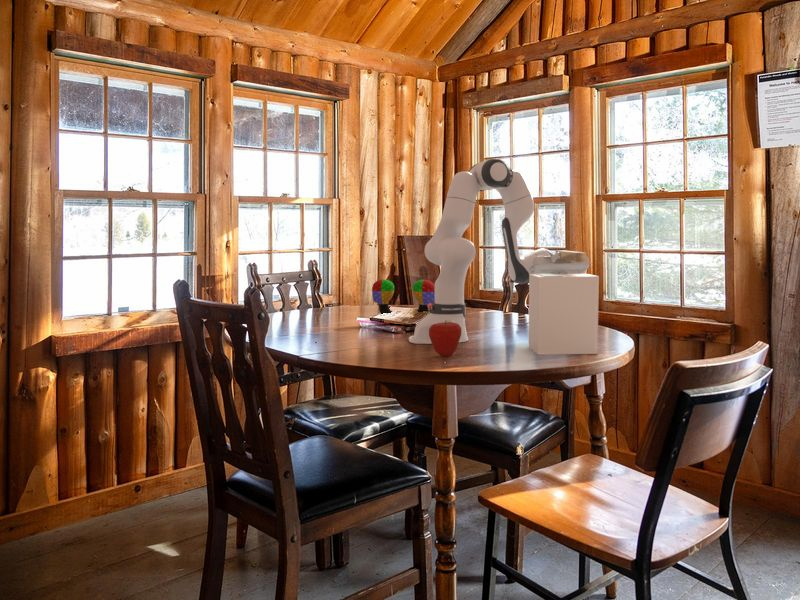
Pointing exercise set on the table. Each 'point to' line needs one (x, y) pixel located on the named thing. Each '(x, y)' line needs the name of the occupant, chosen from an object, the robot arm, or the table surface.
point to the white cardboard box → (563, 313)
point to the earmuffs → (385, 291)
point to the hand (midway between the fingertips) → (565, 253)
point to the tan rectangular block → (572, 256)
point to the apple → (445, 337)
